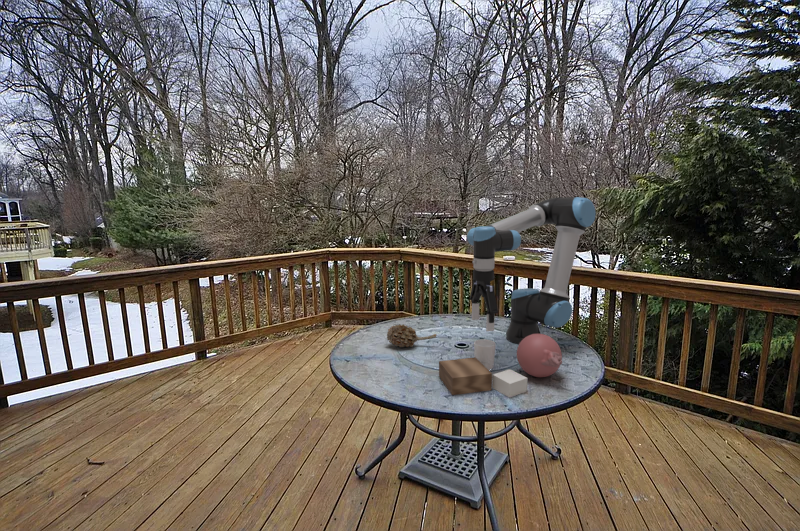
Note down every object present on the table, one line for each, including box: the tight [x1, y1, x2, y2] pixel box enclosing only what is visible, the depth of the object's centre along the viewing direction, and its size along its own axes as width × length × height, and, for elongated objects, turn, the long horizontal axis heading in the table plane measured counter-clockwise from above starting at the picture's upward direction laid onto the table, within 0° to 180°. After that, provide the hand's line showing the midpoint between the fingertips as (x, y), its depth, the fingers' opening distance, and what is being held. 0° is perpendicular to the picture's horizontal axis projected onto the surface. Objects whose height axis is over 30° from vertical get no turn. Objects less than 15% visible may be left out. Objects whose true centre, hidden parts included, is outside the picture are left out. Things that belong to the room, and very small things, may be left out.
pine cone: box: [386, 324, 437, 348], centre depth 176 cm, size 22×10×10 cm, turn 92°
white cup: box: [473, 338, 496, 370], centre depth 153 cm, size 8×8×10 cm
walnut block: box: [438, 356, 493, 396], centre depth 141 cm, size 14×14×6 cm
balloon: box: [516, 333, 563, 378], centre depth 144 cm, size 15×20×15 cm
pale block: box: [492, 369, 528, 398], centre depth 137 cm, size 8×8×5 cm
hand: (482, 325), depth 152 cm, fingers open, 13 cm apart
